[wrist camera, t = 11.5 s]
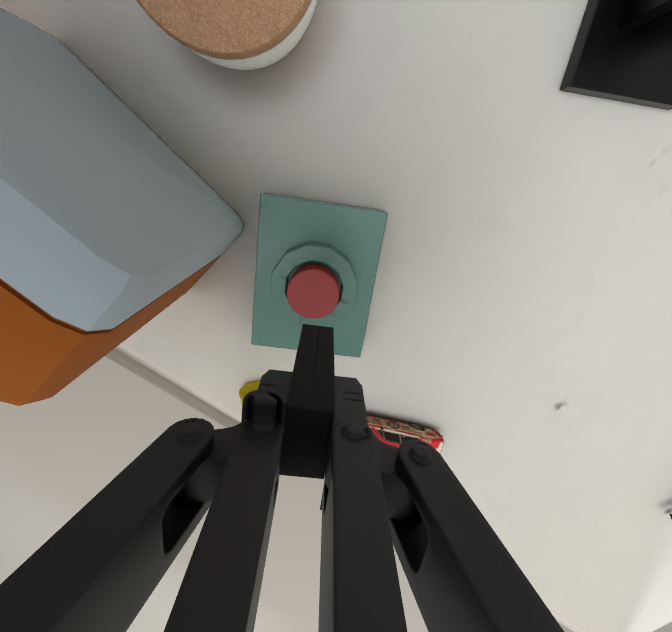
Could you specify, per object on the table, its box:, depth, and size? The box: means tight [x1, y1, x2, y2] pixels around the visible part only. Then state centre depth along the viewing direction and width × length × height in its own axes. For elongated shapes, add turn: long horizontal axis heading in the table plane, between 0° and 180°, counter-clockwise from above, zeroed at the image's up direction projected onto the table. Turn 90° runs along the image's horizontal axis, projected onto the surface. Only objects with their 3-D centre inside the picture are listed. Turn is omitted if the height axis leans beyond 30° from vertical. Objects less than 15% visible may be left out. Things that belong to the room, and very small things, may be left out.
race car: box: [367, 415, 444, 453], centre depth 36 cm, size 5×12×5 cm, turn 70°
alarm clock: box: [0, 8, 243, 406], centre depth 18 cm, size 18×9×21 cm, turn 44°
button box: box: [251, 193, 388, 357], centre depth 29 cm, size 13×10×4 cm
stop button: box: [287, 264, 339, 319], centre depth 27 cm, size 4×4×2 cm
